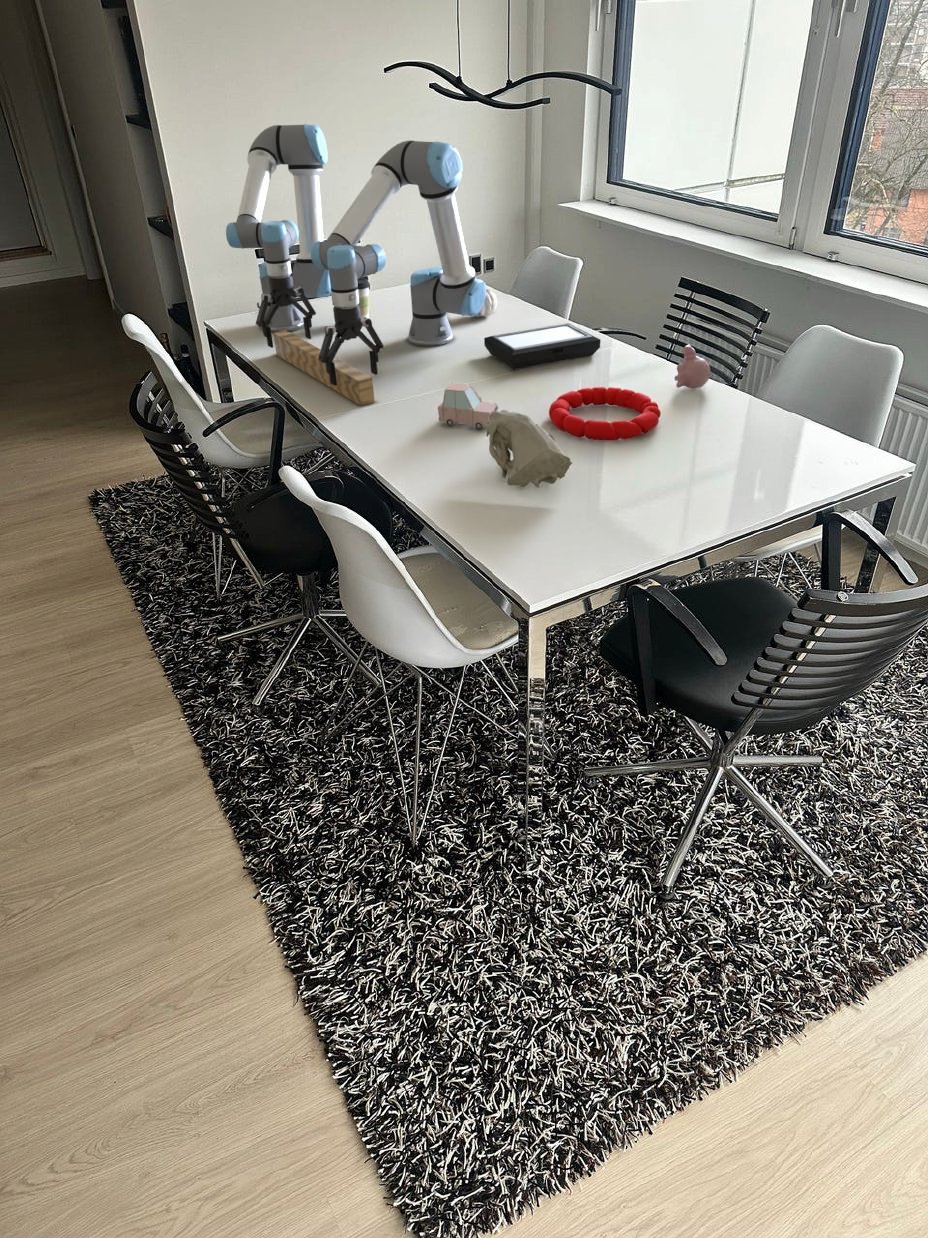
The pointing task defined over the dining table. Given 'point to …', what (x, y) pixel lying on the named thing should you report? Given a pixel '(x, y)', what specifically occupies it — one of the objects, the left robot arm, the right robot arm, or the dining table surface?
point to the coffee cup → (363, 297)
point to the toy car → (465, 406)
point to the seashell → (488, 304)
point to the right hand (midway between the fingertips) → (354, 378)
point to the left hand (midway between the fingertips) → (289, 342)
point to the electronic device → (542, 345)
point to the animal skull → (525, 450)
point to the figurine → (692, 370)
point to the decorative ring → (604, 428)
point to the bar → (324, 368)
